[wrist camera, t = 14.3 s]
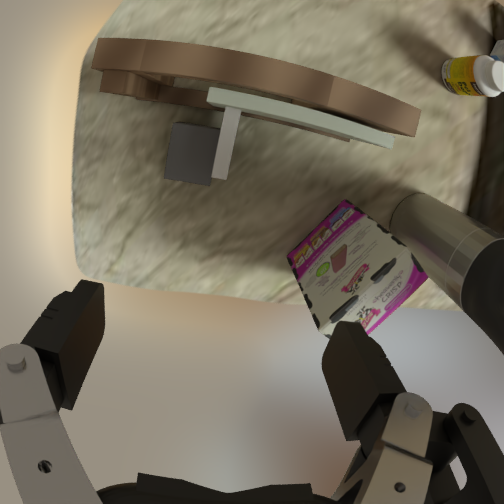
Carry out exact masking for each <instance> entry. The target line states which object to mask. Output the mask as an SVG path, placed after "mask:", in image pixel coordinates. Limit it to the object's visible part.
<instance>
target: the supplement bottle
mask: <svg viewBox="0 0 504 504" xmlns="http://www.w3.org/2000/svg"><path fill="white" fill-rule="evenodd" d="M442 79H443V82H444V84H445V85H446V87H447V88H448V89H449V90H450V91H451V92H452V93H454V94H457V95H471V96H486V97H495V96H497V95H499V94H500V92H504V63H503V62H501V61H495V60H494V59H493V58H491V57H489V56H487V55H479V56H469V57H459V58H451V59H448V60H446V61H445V62H444V64H443V66H442Z"/></svg>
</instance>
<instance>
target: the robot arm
mask: <svg viewBox="0 0 504 504" xmlns="http://www.w3.org/2000/svg"><path fill="white" fill-rule="evenodd" d="M390 233H391V234H392V235H393V236H395V237H396V238H397V239H399V240H400V241H401V242H402V243H403V244H405V245H406V246H407V247H408V248H409V249H410V251H411V252H412V253H413V255H414V256H415V258H416V259H417V261H418V262H419V263H420V265H421V267H422V268H423V269H424V271H425V272H426V274H427V275H428V277H429V278H430V279H431V280H432V281H433V282H435V283H436V284H437V285H438V286H439V287H440V288H441V289H442V290H443V291H444V292H445V293H446V294H447V295H448V296H449V297H450V298H451V299H452V300H453V301H454V302H455V303H456V304H457V305H458V306H459V307H460V308H461V309H462V310H463V311H464V312H465V313H466V314H467V315H468V316H469V317H470V318H471V319H472V320H473V321H474V322H475V323H476V324H477V325H478V326H479V327H480V328H481V329H482V330H483V331H484V332H485V333H486V334H487V335H488V336H489V338H490V339H491V340H492V341H493V342H494V343H495V345H496V346H497V347H498V348H499V350H500V351H501V352H502V353H503V354H504V237H503V236H502V235H500V234H498V233H497V232H495V231H493V230H492V229H490V228H488V227H486V226H485V225H483V224H481V223H479V222H478V221H476V220H474V219H472V218H471V217H469V216H467V215H465V214H463V213H462V212H460V211H458V210H456V209H454V208H452V207H451V206H449V205H447V204H445V203H443V202H441V201H439V200H437V199H435V198H433V197H431V196H429V195H427V194H422V193H418V194H413V195H411V196H409V197H407V198H406V199H404V200H403V201H402V202H401V203H400V204H399V205H398V207H397V208H396V210H395V212H394V214H393V216H392V220H391V224H390ZM104 308H105V306H104V286H103V284H102V283H97V282H92V281H88V280H81V281H80V282H79V283H78V284H77V286H76V287H75V288H74V290H73V291H72V292H68V291H64V292H63V293H61V294H59V295H58V296H56V297H54V298H53V299H52V301H51V302H50V303H49V305H48V306H47V309H45V310H44V311H43V313H42V314H41V317H39V318H38V319H37V321H36V322H35V324H34V325H33V326H32V328H31V329H30V330H29V332H28V333H27V335H26V336H25V337H24V339H23V340H22V342H21V343H20V344H11V345H8V346H5V347H3V348H1V349H0V431H1V435H2V439H3V443H4V447H5V450H6V454H7V457H8V460H9V464H10V467H11V470H12V473H13V476H14V479H15V482H16V485H17V487H18V490H19V493H20V496H21V498H22V501H23V503H24V504H504V455H503V453H502V451H501V449H500V447H499V446H498V444H497V442H496V440H495V438H494V437H493V435H492V434H491V431H490V430H489V428H488V426H487V425H486V423H485V421H484V419H483V418H482V416H481V415H480V413H479V412H478V411H477V410H476V409H475V408H474V407H472V406H470V405H468V404H465V403H459V404H456V405H455V406H454V407H453V408H452V410H451V411H450V412H449V413H448V414H447V413H441V412H435V411H432V408H431V406H430V405H429V403H428V402H427V401H426V400H425V399H424V398H422V397H420V396H419V395H417V394H414V393H409V392H407V391H406V390H405V388H404V386H403V384H402V382H401V381H400V379H399V377H398V375H397V373H396V372H395V370H394V368H393V366H391V363H390V361H389V360H388V358H386V354H385V353H384V351H383V349H382V348H381V346H380V345H379V344H378V343H377V342H376V341H375V340H374V339H372V338H371V337H369V336H368V335H367V333H366V331H365V329H364V328H363V326H362V324H361V323H359V322H350V321H339V322H338V323H337V324H336V326H335V328H334V330H333V333H332V335H331V337H330V340H329V342H328V344H327V347H326V349H325V351H324V354H323V357H322V371H323V374H324V376H325V379H326V382H327V385H328V388H329V391H330V394H331V397H332V400H333V403H334V406H335V409H336V412H337V415H338V418H339V421H340V424H341V427H342V430H343V433H344V435H345V439H346V441H354V440H360V443H361V445H360V446H359V448H358V449H357V451H356V453H355V455H354V457H353V459H352V461H351V463H350V465H349V467H348V469H347V471H346V473H345V475H344V477H343V479H342V481H341V482H340V484H339V486H338V488H337V489H336V491H335V492H334V494H333V495H332V496H331V498H327V497H324V496H320V495H317V494H313V493H312V488H311V484H310V483H308V484H288V485H269V486H264V487H259V488H254V489H250V490H245V491H239V492H234V493H224V492H220V491H216V490H213V489H210V488H206V487H203V486H200V485H197V484H194V483H191V482H188V481H185V480H182V479H173V478H167V477H160V476H154V475H149V474H143V473H138V477H137V483H124V484H117V485H113V486H109V487H106V488H103V489H100V490H98V491H95V489H94V487H93V486H92V484H91V482H90V480H89V479H88V476H87V474H86V473H85V471H84V469H83V467H82V465H81V463H80V461H79V459H78V457H77V454H76V452H75V450H74V448H73V446H72V444H71V441H70V439H69V437H68V435H67V432H66V430H65V428H64V425H63V423H62V420H61V418H60V415H59V410H60V408H61V407H62V408H65V409H68V410H72V409H73V407H74V404H75V401H76V399H77V396H78V394H79V392H80V389H81V387H82V384H83V382H84V380H85V377H86V375H87V372H88V370H89V368H90V365H91V363H92V361H93V359H94V356H95V354H96V351H97V349H98V347H99V345H100V343H101V340H102V338H103V335H104V329H105V309H104ZM457 456H458V457H459V459H460V461H461V463H462V466H463V468H464V470H465V472H466V475H467V482H466V485H465V487H464V488H463V489H462V490H461V491H460V489H459V486H458V484H457V481H456V479H455V477H454V474H453V472H452V470H451V467H450V465H449V464H450V463H451V462H452V461H453V460H454V459H455V458H456V457H457Z"/></svg>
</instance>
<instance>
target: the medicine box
mask: <svg viewBox="0 0 504 504" xmlns="http://www.w3.org/2000/svg"><path fill="white" fill-rule="evenodd" d="M490 57H491V58H493V59H494V60H495V61H501V62H503V63H504V40H499V41H497V42H496V44H495V46H494V48H493V50H492V52H491V54H490Z"/></svg>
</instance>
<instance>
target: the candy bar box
mask: <svg viewBox="0 0 504 504" xmlns="http://www.w3.org/2000/svg"><path fill="white" fill-rule="evenodd" d="M287 259H288V262H289V264H290V266H291V269H292V271H293V273H294V275H295V278H296V280H297V282H298V284H299V286H300V289H301V291H302V294H303V296H304V298H305V301H306V303H307V305H308V308H309V310H310V312H311V314H312V316H313V319H314V322H315V324H316V326H317V328H318V331H319V332H321V333H322V334H323V335H325V336H326V337H328V338H329V339H330V337H331V335H332V333H333V330H334V328H335V326H336V324H337V323H338V322H339V321H350V322H359V323H361V324H362V326H363V328H364V329H365V331H366V333H367V335H368V334H369V333H371V332H372V331H373V330H374V329H375V328H376V327H377V326H378V325H380V324H381V323H382V322H383V321H384V320H385V319H386V318H387V317H388V316H389V315H391V314H392V313H393V312H394V311H395V310H396V309H397V308H398V307H399V306H400V305H401V304H402V303H403V302H404V301H405V300H406V299H408V298H409V297H410V296H411V295H412V294H413V293H414V292H415V291H416V290H417V289H418V288H419V287H420V286H421V285H422V284H423V283H424V282H425V281H426V280H427V279H428V278H429V277H428V275H427V274H426V272H425V271H424V269H423V268H422V267H421V265H420V263H419V262H418V261H417V259H416V258H415V256H414V255H413V253H412V252H411V251H410V249H409V248H408V247H407V246H406V245H405V244H403V243H402V242H401V241H400V240H399V239H397V238H396V237H395V236H393V235H392V234H391V233H390V232H388V231H387V230H386V229H384V228H383V227H382V226H381V225H379V224H378V223H377V222H375V221H374V220H373V219H372V218H370V217H369V216H368V215H366V214H365V213H364V212H362V211H361V210H360V209H359V208H357V207H356V206H354V205H353V204H352V203H351V202H349V201H348V200H346V199H344V200H343V201H342V202H341V203H340V204H339V205H338V206H337V207H336V208H335V209H334V210H333V211H332V212H331V213H330V214H329V215H328V216H327V217H326V218H325V219H324V220H323V221H322V222H321V223H320V224H319V225H318V226H317V227H316V228H315V229H314V230H313V231H312V232H311V233H310V234H309V235H308V236H307V237H306V238H305V239H304V240H303V241H302V242H301V243H300V244H299V245H298V246H297V247H296V248H295V249H294V250H293V251H292V252H291V253H290V254H289V255H288V256H287Z"/></svg>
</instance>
